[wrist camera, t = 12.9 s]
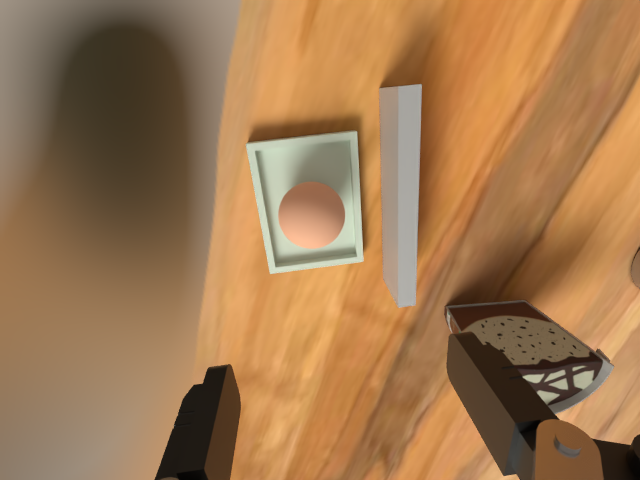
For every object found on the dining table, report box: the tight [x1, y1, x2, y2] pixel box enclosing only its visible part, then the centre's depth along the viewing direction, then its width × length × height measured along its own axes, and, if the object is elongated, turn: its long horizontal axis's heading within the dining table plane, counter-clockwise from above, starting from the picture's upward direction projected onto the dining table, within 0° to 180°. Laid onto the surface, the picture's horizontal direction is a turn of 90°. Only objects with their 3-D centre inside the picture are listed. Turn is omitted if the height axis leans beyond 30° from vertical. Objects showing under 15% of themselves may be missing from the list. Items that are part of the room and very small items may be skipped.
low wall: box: [379, 84, 422, 308], centre depth 28 cm, size 2×18×5 cm, turn 5°
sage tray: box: [246, 130, 363, 274], centre depth 29 cm, size 9×12×1 cm
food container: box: [444, 300, 614, 414], centre depth 33 cm, size 12×6×10 cm, turn 91°
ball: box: [278, 182, 345, 249], centre depth 27 cm, size 6×6×6 cm
